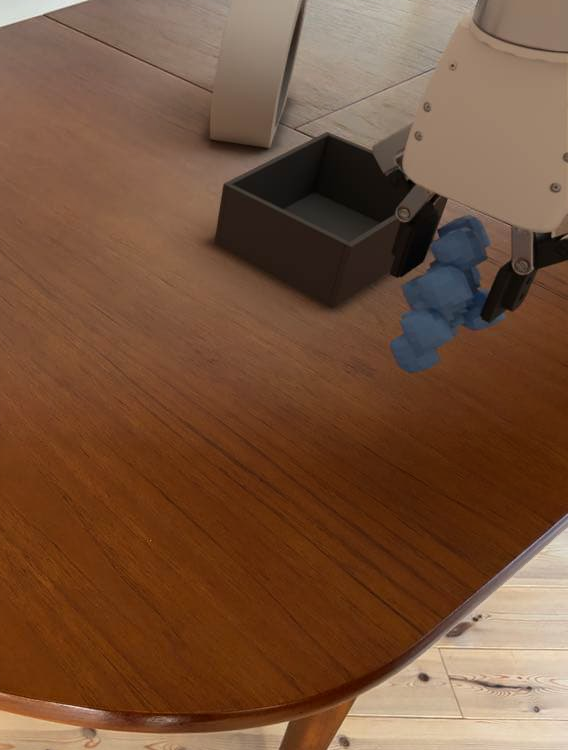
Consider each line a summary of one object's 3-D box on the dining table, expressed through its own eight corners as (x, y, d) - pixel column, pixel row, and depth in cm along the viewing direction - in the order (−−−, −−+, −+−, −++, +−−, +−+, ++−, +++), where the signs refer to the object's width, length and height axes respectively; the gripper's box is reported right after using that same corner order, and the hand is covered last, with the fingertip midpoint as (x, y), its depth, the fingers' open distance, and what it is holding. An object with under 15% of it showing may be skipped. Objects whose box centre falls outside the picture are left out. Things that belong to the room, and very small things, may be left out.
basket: (430, 247, 91) (453, 183, 86) (332, 312, 83) (351, 246, 78) (312, 192, 100) (327, 131, 94) (213, 246, 92) (223, 183, 87)
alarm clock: (264, 164, 104) (297, -7, 91) (203, 155, 106) (227, -14, 93) (289, 93, 119) (321, -64, 105) (235, 86, 121) (259, -70, 107)
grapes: (455, 436, 57) (534, 293, 48) (353, 400, 59) (411, 257, 51) (484, 336, 64) (557, 196, 55) (392, 307, 66) (449, 168, 58)
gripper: (773, 31, 41) (609, 326, 54) (444, -48, 51) (370, 217, 63) (707, 79, 38) (549, 381, 50) (368, -16, 47) (307, 257, 60)
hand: (450, 287), depth 57 cm, fingers closed on grapes, 5 cm apart
